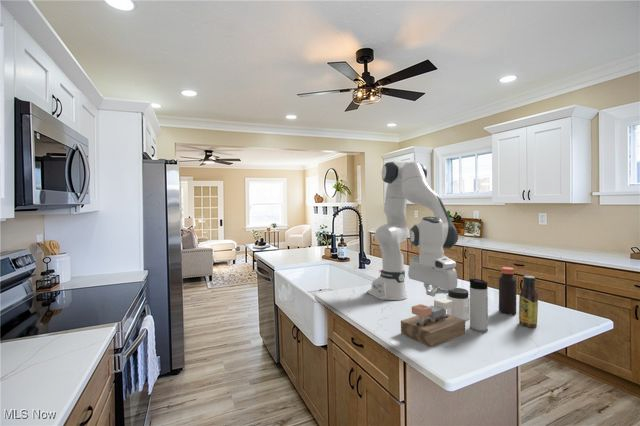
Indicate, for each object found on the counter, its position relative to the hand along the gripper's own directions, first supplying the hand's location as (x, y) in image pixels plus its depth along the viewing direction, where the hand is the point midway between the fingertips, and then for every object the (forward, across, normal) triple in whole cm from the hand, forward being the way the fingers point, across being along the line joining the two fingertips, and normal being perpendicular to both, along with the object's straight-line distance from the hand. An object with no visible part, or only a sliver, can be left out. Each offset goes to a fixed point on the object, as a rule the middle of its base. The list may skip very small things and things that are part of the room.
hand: (430, 295), depth 121 cm
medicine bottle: (+15, -33, +56) cm, 67 cm away
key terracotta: (+11, +1, -6) cm, 12 cm away
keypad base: (+15, +1, 0) cm, 15 cm away
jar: (+15, -3, +22) cm, 27 cm away
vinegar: (+14, +5, +46) cm, 48 cm away
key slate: (+13, +1, 0) cm, 13 cm away
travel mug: (+14, +9, +18) cm, 24 cm away
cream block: (+11, +1, +7) cm, 13 cm away
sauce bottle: (+14, +17, +38) cm, 44 cm away
